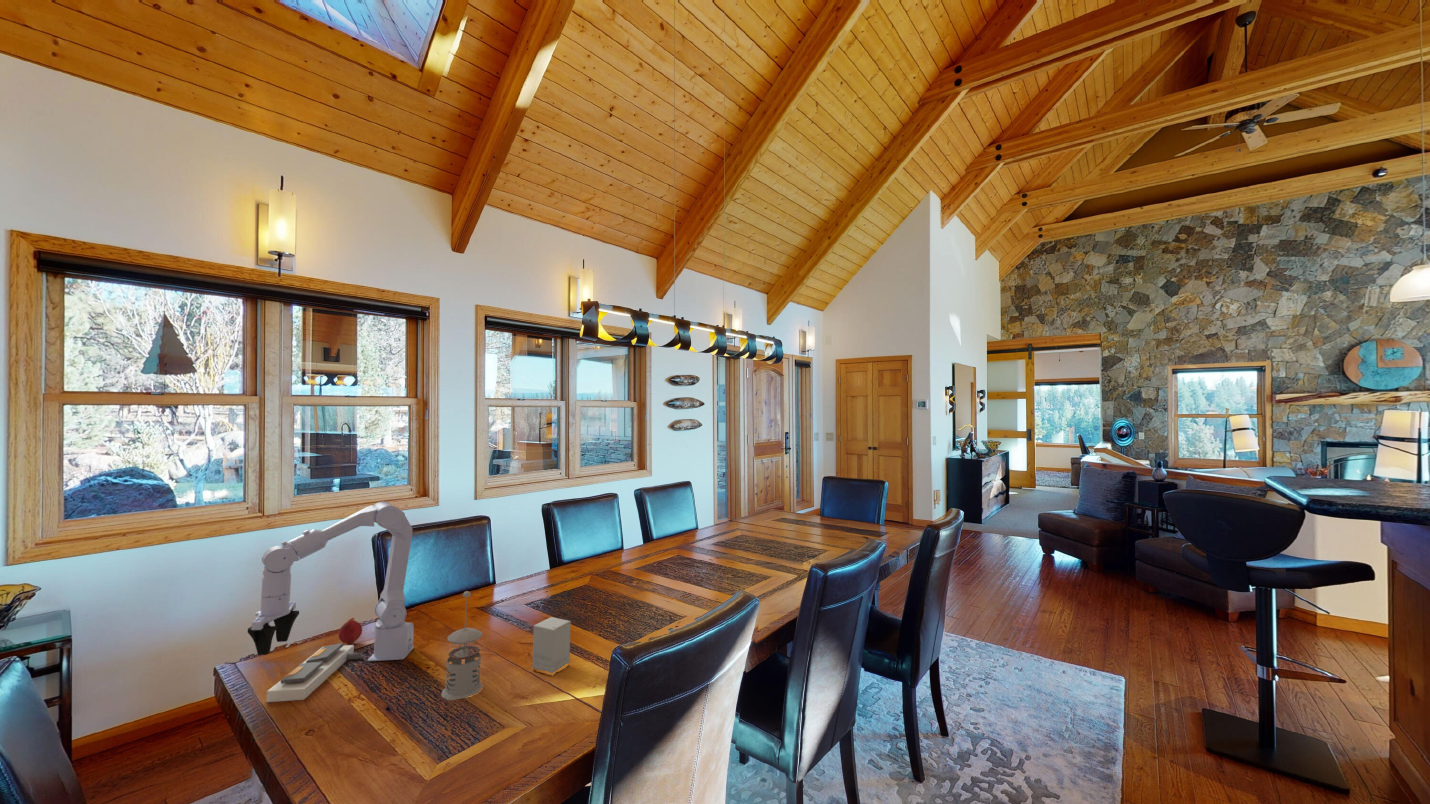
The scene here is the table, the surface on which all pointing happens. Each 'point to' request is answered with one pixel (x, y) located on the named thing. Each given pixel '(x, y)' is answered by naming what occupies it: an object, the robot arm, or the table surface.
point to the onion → (350, 631)
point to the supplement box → (551, 644)
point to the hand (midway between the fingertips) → (273, 647)
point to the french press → (465, 675)
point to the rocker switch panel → (311, 677)
